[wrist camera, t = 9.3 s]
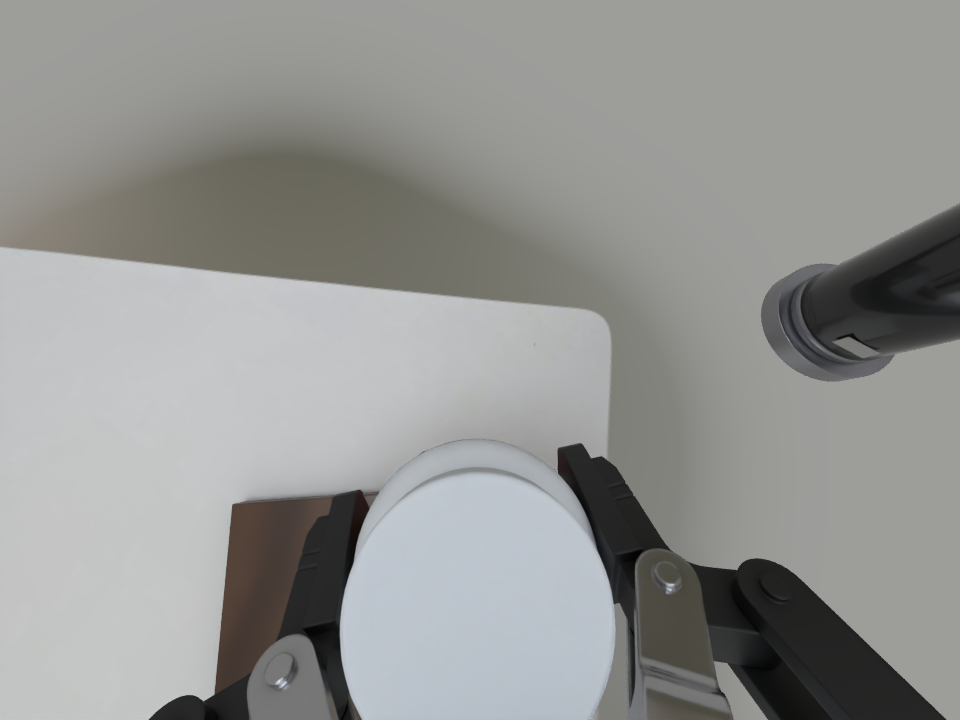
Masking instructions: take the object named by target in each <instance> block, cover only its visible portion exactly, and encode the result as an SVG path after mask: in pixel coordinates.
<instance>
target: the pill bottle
mask: <svg viewBox="0 0 960 720" xmlns="http://www.w3.org/2000/svg"><path fill="white" fill-rule="evenodd" d="M615 637H616V626H615V612H614V603H613V597H612V591H611V587H610V583H609V580H608V576H607V573H606V570H605V568H604V565H603V563H602V560H601V558H600V555H599V553H598V551H597V547H596V541H595V538H594V535H593V531H592V528H591V525H590V523H589V520H588V518H587V516H586V513H585V511H584V509H583V507H582V506H581V504H580V502H579V500H578V499H577V497H576V495H575V494H574V492H573V491H572V490H571V488H570V487H569V486H568V484H567V483H566V482H565V481H564V480H563V479H562V477H561V476H560V475H559V474H558V473H557V472H556V471H554V470H553V469H552V468H551V467H550V466H548V465H547V464H546V463H544V462H543V461H542V460H540V459H539V458H537V457H535V456H534V455H532V454H530V453H528V452H526V451H524V450H522V449H520V448H518V447H516V446H513V445H510V444H507V443H503V442H499V441H494V440H485V439H466V440H459V441H453V442H449V443H445V444H442V445H439V446H436V447H434V448H432V449H429V450H427V451H424V452H422V453H421V454H419V455H418V456H417V457H415V458H414V459H412V460H411V461H409V462H408V463H407V464H405V465H404V466H403V467H402V468H400V469H399V470H398V471H397V472H396V473H395V474H394V475H393V476H392V477H391V478H390V480H389V481H388V482H387V483H386V484H385V486H384V487H383V488H382V490H381V491H380V492H379V494H378V495H377V497H376V499H375V500H374V502H373V504H372V506H371V507H370V509H369V512H368V514H367V516H366V518H365V520H364V523H363V525H362V528H361V531H360V534H359V537H358V541H357V545H356V551H355V557H354V563H353V566H352V569H351V571H350V574H349V577H348V581H347V584H346V587H345V592H344V597H343V602H342V609H341V618H340V648H341V659H342V664H343V670H344V675H345V678H346V682H347V685H348V689H349V692H350V696H351V698H352V700H353V702H354V705H355V707H356V709H357V711H358V713H359V715H360V717H361V719H362V720H591V719H592V717H593V715H594V714H595V712H596V710H597V708H598V706H599V703H600V701H601V699H602V696H603V694H604V692H605V688H606V686H607V683H608V679H609V676H610V672H611V667H612V662H613V656H614V649H615Z"/></svg>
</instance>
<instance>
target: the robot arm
mask: <svg viewBox="0 0 960 720" xmlns="http://www.w3.org/2000/svg"><path fill="white" fill-rule="evenodd" d="M791 314H792V319H793V323H794V325H795V328H796V330H797V331H798V333H799V335H800V336H801V338H802V339H803V340H804V342H805V343H806V344H807V345H808V346H809V347H810V348H811V349H813V350H814V351H815V352H817V353H818V354H820V355H821V356H823V357H825V358H827V359H829V360H832V361H835V362H838V363H843V364H859V363H863V362H868V361H872V360H875V359H878V358H880V357H885V356H889V355H893V354H897V353H902V352H907V351H912V350H916V349H920V348H925V347H929V346H933V345H938V344H942V343H947V342H951V341H955V340H959V339H960V203H959V204H957V205H955V206H953V207H951V208H949V209H947V210H945V211H943V212H941V213H939V214H937V215H935V216H933V217H932V218H930V219H928V220H925V221H924V222H922V223H920V224H918V225H916V226H914V227H912V228H910V229H908V230H906V231H904V232H902V233H900V234H898V235H896V236H894V237H892V238H890V239H888V240H886V241H884V242H882V243H880V244H879V245H876V246H874V247H873V248H871V249H869V250H867V251H865V252H863V253H861V254H859V255H857V256H855V257H853V258H851V259H849V260H847V261H845V262H843V263H841V264H839V265H837V266H835V267H833V268H831V269H829V270H827V271H825V272H822V273H819V274H817V275H815V276H813V277H811V278H809V279H807V280H806V281H804V282H803V283H802V284H801V285H800V286H799V287H798V288H797V290H796V291H795V293H794V295H793V298H792V302H791ZM558 474H559V475H560V476H561V477H562V479H563V480H564V481H565V482H566V483H567V484H568V486H569V487H570V488H571V490H572V491H573V492H574V494H575V495H576V497H577V499H578V500H579V502H580V504H581V506H582V507H583V509H584V511H585V513H586V516H587V518H588V520H589V523H590V525H591V528H592V531H593V535H594V538H595V541H596V547H597V551H598V553H599V555H600V558H601V560H602V563H603V565H604V568H605V570H606V573H607V576H608V580H609V583H610V587H611V591H612V597H613V603H614V604H616V603H620V605H621V607H622V609H623V611H624V614H625V616H626V668H627V669H626V670H627V720H733V716H732V712H731V709H730V705H729V702H728V700H727V698H726V696H725V694H724V693H723V692H721V690H720V688H719V685H718V682H717V677H716V671H715V666H714V661H718V662H724V663H728V665H729V666H730V667H731V669H732V670H733V672H734V673H735V674H736V676H737V677H738V678H739V680H740V681H741V683H742V684H743V686H745V688H746V690H747V691H748V692H749V694H750V695H751V696H752V698H753V699H754V701H755V702H756V704H757V705H758V706H759V708H760V709H761V710H762V712H763V713H764V714H765V716H766V717H767V719H768V720H946V719H945V718H944V717H943V716H942V715H941V714H940V713H939V712H938V711H937V710H936V709H935V708H934V707H933V706H932V705H931V704H929V703H928V702H927V701H926V700H925V699H924V698H923V697H922V696H921V695H920V694H919V693H918V692H917V691H916V690H915V689H914V688H913V687H912V686H911V685H910V684H909V683H908V682H907V681H906V680H905V679H903V677H901V676H900V675H899V674H898V673H897V672H896V671H895V670H894V669H893V668H892V667H891V666H890V665H889V664H888V663H887V662H886V661H885V660H884V659H883V658H881V656H880V655H879V654H878V653H876V652H875V651H874V650H873V649H872V648H871V647H870V646H869V645H868V644H867V643H866V642H865V641H864V640H863V639H862V638H861V637H860V636H859V635H858V634H857V633H856V632H855V631H853V629H851V627H849V626H848V625H847V624H846V623H845V622H844V621H843V620H842V619H841V618H840V617H839V616H838V615H837V614H836V613H835V612H834V611H833V610H832V609H831V608H830V607H829V606H828V605H826V604H825V603H824V602H823V601H822V600H821V599H820V598H819V597H818V596H817V595H816V594H815V593H814V592H813V591H812V590H811V589H810V588H809V587H808V586H807V585H806V584H805V583H804V582H802V580H801V579H799V578H798V577H797V576H796V575H795V574H794V573H792V572H791V571H790V570H788V569H787V568H785V567H783V566H782V565H779V564H777V563H775V562H772V561H769V560H765V559H749V560H746V561H745V562H743V563H742V564H741V565H740V566H739V568H738V570H730V569H721V568H711V567H704V566H699V565H695V564H692V563H690V562H688V561H686V560H685V559H683V558H682V557H681V556H679V555H677V554H676V553H674V552H673V551H671V550H670V549H669V548H668V546H667V545H666V544H665V543H664V541H663V540H662V538H661V537H660V535H659V534H658V532H657V531H656V529H655V528H654V526H653V524H652V523H651V521H650V520H649V518H648V516H647V515H646V514H645V512H644V510H643V509H642V507H641V506H640V504H639V502H638V501H637V499H636V498H635V496H633V493H632V491H631V490H630V489H629V487H628V485H627V484H625V480H624V479H623V477H622V476H621V474H620V473H619V471H618V470H617V468H616V467H615V466H614V465H612V464H611V463H610V462H609V461H607V460H606V459H605V458H603V457H602V456H601V457H596V458H592V459H591V457H590V456H589V454H588V452H587V451H586V449H585V447H584V446H583V444H581V443H579V444H574V445H570V446H565V447H560V448H558ZM369 509H370V508H369V506H368V504H367V501H366V499H365V497H364V494H363V492H362V491H361V490H355V491H351V492H346V493H341V494H337V495H335V496H334V497H333V499H332V503H331V507H330V511H329V515H325V516H321V517H318V518H317V520H316V521H315V523H314V524H313V526H312V527H311V529H310V530H309V532H308V533H307V536H306V539H305V543H304V546H303V550H302V556H301V557H300V560H299V564H298V571H297V572H296V575H295V578H294V582H293V585H292V589H291V592H290V596H289V600H288V603H287V607H286V610H285V614H284V617H283V621H282V624H281V628H280V631H279V634H278V637H277V639H276V641H275V643H274V644H273V645H271V646H270V647H269V648H268V649H267V650H266V651H265V652H264V653H263V655H262V656H261V657H260V659H259V660H258V662H257V663H256V665H255V667H254V668H253V670H252V671H251V672H250V673H249V674H248V675H246V676H245V677H243V678H242V679H240V680H238V681H237V682H235V683H234V684H232V685H230V686H229V687H227V688H225V689H224V690H222V691H220V692H219V693H217V694H215V695H214V696H212V697H210V698H209V699H207V700H205V701H202V700H201V699H199V698H198V697H196V696H193V695H186V696H181V697H179V698H176V699H174V700H173V701H171V702H169V703H167V704H166V705H165V706H163V707H162V708H161V709H159V710H158V711H157V712H156V713H155V714H154V715H153V716H152V717H151V718H150V719H149V720H360V719H359V716H358V713H357V710H356V707H355V705H354V702H353V700H352V698H351V696H350V692H349V689H348V685H347V682H346V678H345V675H344V670H343V664H342V659H341V648H340V618H341V609H342V602H343V597H344V592H345V587H346V584H347V581H348V577H349V574H350V571H351V569H352V566H353V563H354V557H355V551H356V545H357V541H358V537H359V534H360V531H361V528H362V525H363V523H364V520H365V518H366V516H367V514H368V512H369Z"/></svg>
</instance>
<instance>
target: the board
mask: <svg viewBox="0 0 960 720" xmlns="http://www.w3.org/2000/svg"><path fill="white" fill-rule="evenodd" d="M363 494H364V497H365V499H366V501H367V504H368V506H369V508H370V507H371V506H372V504H373V502H374V500H375V499H376V497H377V495H378V494H379V492H371V493H363ZM334 496H335V495H329V496H314V497H300V498H286V499H272V500H258V501H245V502H240V503H235V504H233V505H232V515H231V525H230V536H229V546H228V557H227V568H226V578H225V589H224V600H223V610H222V621H221V631H220V642H219V653H218V663H217V674H216V685H215V694H217V693H219V692H220V691H222V690H224V689H225V688H227V687H229V686H230V685H232V684H234V683H235V682H237V681H238V680H240V679H242V678H243V677H245V676H246V675H248V674H249V673H250V672H251V671H252V670H253V668H254V667H255V665H256V663H257V662H258V660H259V659H260V657H261V656H262V655H263V653H264V652H265V651H266V650H267V649H268V648H269V647H270V646H271V645H273V644H274V643H275V641H276V639H277V637H278V634H279V631H280V628H281V624H282V621H283V617H284V614H285V610H286V607H287V603H288V600H289V596H290V592H291V589H292V585H293V582H294V578H295V575H296V572H297V571H298V564H299V560H300V557H301V556H302V550H303V546H304V543H305V539H306V536H307V533H308V532H309V530H310V529H311V527H312V526H313V524H314V523H315V521H316V520H317V518H318V517H321V516H325V515H329V511H330V507H331V503H332V499H333V497H334ZM356 710H357V709H356ZM357 713H358V711H357ZM358 716H359V719H360V720H362V719H361V717H360V715H359V713H358Z"/></svg>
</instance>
